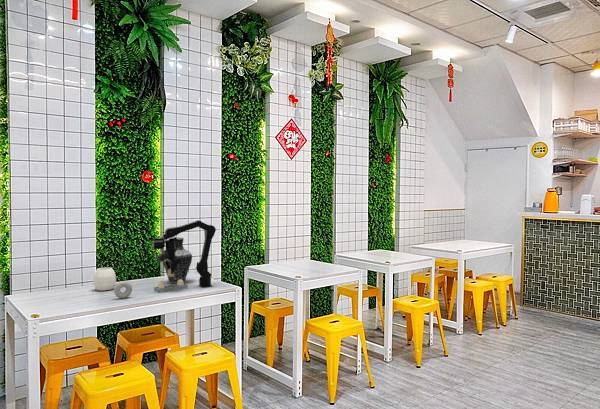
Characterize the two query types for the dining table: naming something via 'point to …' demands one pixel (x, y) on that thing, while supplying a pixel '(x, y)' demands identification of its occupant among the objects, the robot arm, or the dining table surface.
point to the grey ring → (120, 285)
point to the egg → (170, 273)
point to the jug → (181, 267)
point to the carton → (170, 286)
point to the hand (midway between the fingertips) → (170, 273)
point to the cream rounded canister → (104, 279)
